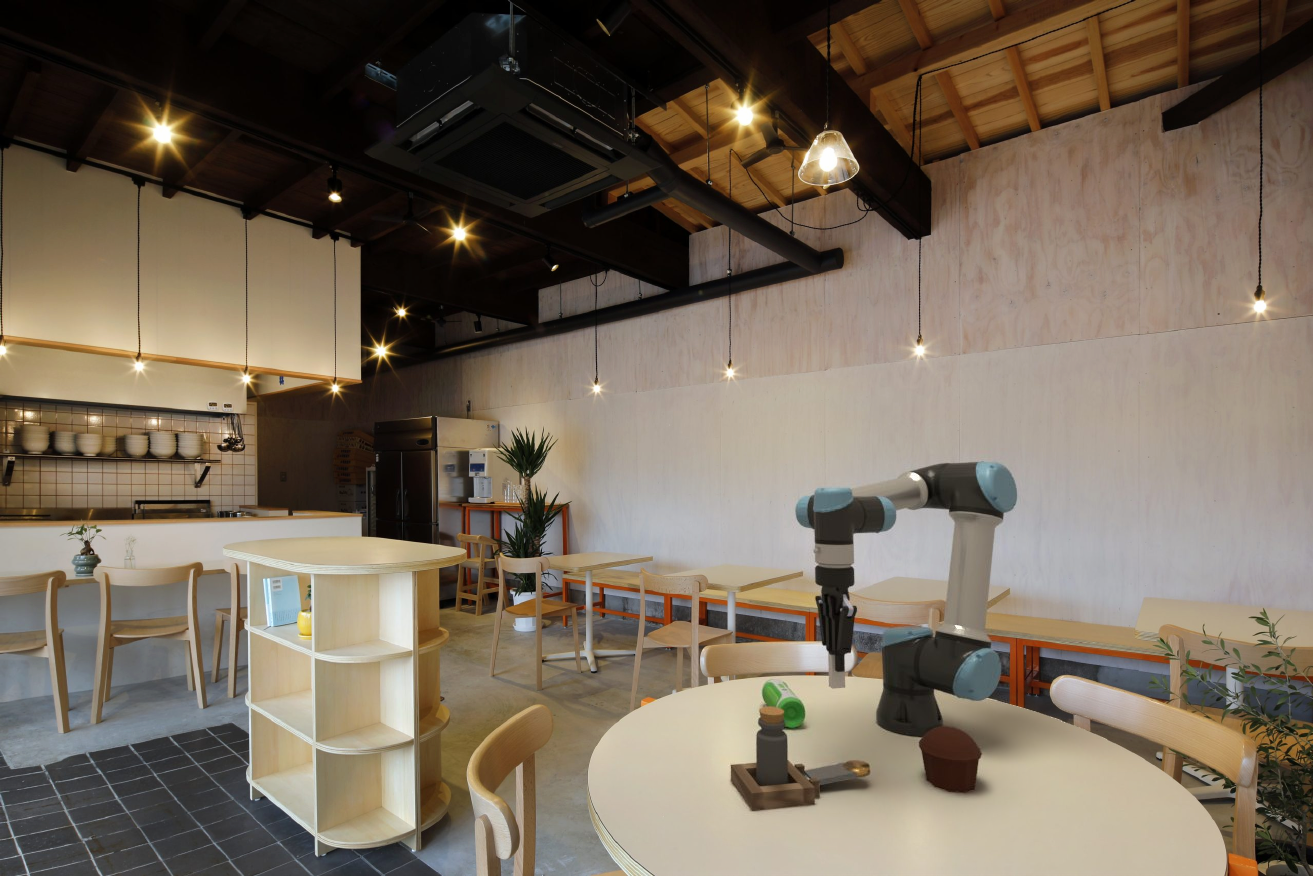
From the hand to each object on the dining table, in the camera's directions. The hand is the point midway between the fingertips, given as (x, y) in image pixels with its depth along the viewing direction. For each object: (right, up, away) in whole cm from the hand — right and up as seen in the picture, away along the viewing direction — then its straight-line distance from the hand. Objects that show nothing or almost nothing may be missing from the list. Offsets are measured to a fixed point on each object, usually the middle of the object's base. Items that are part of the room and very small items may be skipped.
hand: (837, 686), depth 126 cm
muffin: (+22, -19, 0) cm, 29 cm away
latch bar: (-1, -16, -2) cm, 17 cm away
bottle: (-14, -18, -5) cm, 23 cm away
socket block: (-14, -18, -5) cm, 23 cm away
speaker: (-4, -22, +35) cm, 41 cm away
